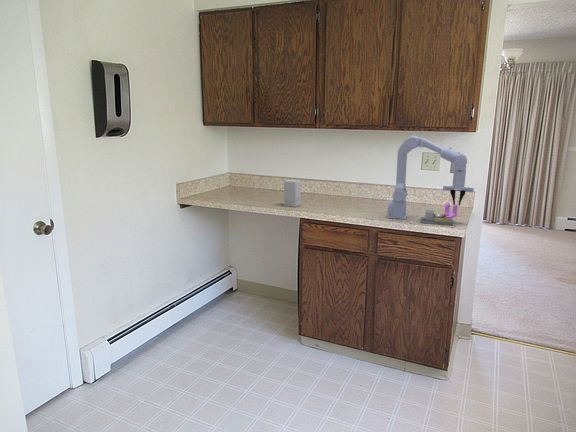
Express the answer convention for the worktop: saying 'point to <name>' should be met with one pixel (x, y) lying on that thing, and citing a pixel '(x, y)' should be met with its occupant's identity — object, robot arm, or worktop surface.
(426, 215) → the block
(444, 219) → the keeper bar
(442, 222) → the grey latch board
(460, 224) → the worktop surface
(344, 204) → the worktop surface
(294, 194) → the skincare box
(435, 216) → the orange block with stem
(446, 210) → the bracket
